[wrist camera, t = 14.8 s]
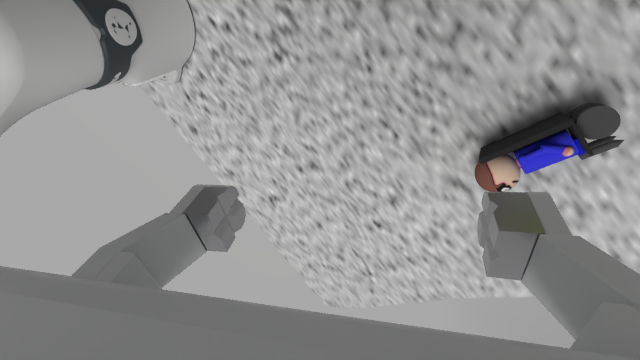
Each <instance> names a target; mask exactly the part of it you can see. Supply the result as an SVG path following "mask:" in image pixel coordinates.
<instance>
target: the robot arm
mask: <svg viewBox="0 0 640 360" xmlns="http://www.w3.org/2000/svg"><path fill="white" fill-rule="evenodd" d="M194 41H195V28H194V22H193V17H192V14H191V11H190V8H189V5H188V3H187V1H186V0H0V136H1V135H2V134H3V133H4V132H5V131H6V130H7V129H8V128H10V127H11V126H12V125H13V124H15V123H16V122H17V121H18V120H20V119H21V118H23V117H24V116H26V115H28V114H29V113H31V112H32V111H34V110H36V109H38V108H40V107H43V106H45V105H47V104H49V103H52V102H54V101H56V100H59V99H61V98H63V97H65V96H68V95H70V94H73V93H75V92H78V91H80V90H83V89H89V90H91V89H96V88H100V87H105V86H108V85H110V84H114V83H120V82H122V83H123V85H133V86H138V85H141V84H144V83H147V82H150V81H152V80H154V81H159V82H165V83H170V84H174V83H177V82H179V80H180V77H181V72H182V67H183V65H184V64H185V62H186V61H187V60H188V58H189V57H190V55H191V53H192V50H193V47H194ZM238 196H239V193H238V191H237V189H236V187H233V186H225V185H195V186H193V187H192V188H191V189H190V191H189V192H188V193H187V194H186V195H185V196H184V197H183V198H182V199H181V200H180V202H179V203H178V204H177V205H176V206H175V207H174V208H173V209H172V211H171V212H170V213H165V214H163V215H161V216H159V217H157V218H155V219H154V220H152V221H150V222H148V223H146V224H144V225H142V226H140V227H138V228H136V229H134V230H133V231H131V232H129V233H127V234H125V235H123V236H121V237H120V238H117V239H116V240H114V241H112V242H110V243H108V244H106V245H104V246H102V247H101V248H99V249H98V250H97V251H96V252H95V253H94V254H93V255H92V256H91V257H90V258H89V259H88V260H87V261H86V262H85V263H84V264H83V265H82V266H81V267H80V268H79V269H78V270H77V271H76V272H75V273H74V274H73V275H72V276H64V275H58V274H50V273H44V272H37V271H30V270H23V269H16V268H10V267H3V266H0V360H640V274H638V273H637V272H635V271H633V270H632V269H630V268H629V267H627V266H626V265H624V264H622V263H621V262H619V261H618V260H616V259H615V258H613V257H611V256H610V255H608V254H607V253H605V252H603V251H602V250H600V249H599V248H597V247H596V246H594V245H592V244H591V243H589V242H588V241H586V240H585V239H583V238H581V237H580V236H572V234H571V232H570V230H569V228H568V226H567V225H566V223H565V221H564V219H563V217H562V216H561V214H560V212H559V210H558V208H557V207H556V205H555V203H554V201H553V199H552V197H551V196H550V194H549V193H547V192H525V193H523V192H484V195H483V198H482V206H483V211H482V212H481V213H480V214H479V218H478V239H479V244H480V246H482V247H483V248H484V252H483V256H482V258H483V262H484V266H485V271H486V275H487V277H496V278H504V279H513V280H521V281H522V283H523V284H524V285H525V286H526V287H527V288H528V290H529V291H530V292H531V293H532V294H533V295H534V296H535V297H536V298H537V299H538V300H539V301H540V302H541V303H542V304H543V305H544V307H545V308H546V309H547V310H548V311H549V312H550V313H551V314H552V315H553V316H554V317H555V318H556V319H557V320H558V322H560V324H561V325H562V326H563V327H564V328H565V329H566V330H567V331H568V332H569V333H570V334H571V335H572V336H573V337H574V339H575V340H576V341H575V342H574V343H573V345H572V346H571V348H570V349H568V348H562V347H554V346H547V345H541V344H534V343H527V342H520V341H513V340H506V339H499V338H493V337H486V336H478V335H472V334H465V333H458V332H451V331H444V330H437V329H430V328H424V327H417V326H409V325H403V324H396V323H388V322H381V321H375V320H368V319H361V318H354V317H346V316H339V315H333V314H326V313H319V312H311V311H305V310H299V309H291V308H285V307H278V306H271V305H264V304H258V303H250V302H244V301H237V300H230V299H223V298H216V297H209V296H202V295H196V294H188V293H182V292H175V291H168V290H163V289H162V287H163V286H165V285H166V284H167V283H168V282H170V281H171V280H172V279H173V278H175V277H176V276H177V275H178V274H180V273H181V272H182V271H183V270H185V269H186V268H187V267H188V266H190V265H191V264H192V263H193V262H194V261H196V260H197V259H198V258H199V257H201V256H202V255H203V254H204V253H206V251H220V252H227V251H228V249H229V248H230V246H231V244H232V243H233V241H234V239H235V232H236V231H238V230H239V229H241V228H242V226H243V224H244V221H245V216H246V213H245V208H244V205H243V203H241V202H240V201H239V200H238Z"/></svg>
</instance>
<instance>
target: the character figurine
mask: <svg viewBox="0 0 640 360" xmlns="http://www.w3.org/2000/svg"><path fill="white" fill-rule="evenodd" d="M619 125H620V115H619V114H618V112H617V111H616V110H614V109H613V108H610V107H607V106H605V105H602V104H598V103H589V104H585V105H582V106H580V107H578V108H577V109H575V110H574V111H573V112H572V114H571V115H570V117H567V116H566V115H564V114H562V113H558V114H556V115H554V116H551V117H549V118H547V119H545V120H543V121H541V122H538V123H536V124H534V125H532V126H530V127H527V128H525V129H523V130H521V131H519V132H516V133H514V134H512V135H510V136H508V137H505V138H503V139H501V140H499V141H497V142H495V143H492V144H490V145H488V146H486V147H484V148H481V151H480V156H479V162H478V164H477V165H476V168H475V178H476V181H477V183H478V184H479V185H480V186H481V187H482V188H483V189H485V190H487V191H490V192H505V191H508V190H510V189H511V188H513V187H514V186H515V185H516V184H517V182H518V181H519V178H520V168H522V169H523V171H524V173H525V174H528V173H530V172H533V171H536V170H538V169H541V168H544V167H546V166H549V165H551V164H554V163H557V162H559V161H562V160H565V159H567V158H570V157H573V156H575V155H579V157H580V158H581V159H582V160H583V159H585V158H588V157H591V156H594V155H596V154H599V153H602V152H604V151H607V150H610V149H613V148H615V147H618V146H619V145H620V144H621V143H622V142H623V141H624V140H613V139H614V138H615V137H616V136H610V135H611V134H613V133H614V132H615V131H616V130H617V129H618V127H619ZM565 128H567V129H568V131H569V133H570V134H571V136H570V135H569V133H568V132H567V131H566V130H563V129H565ZM561 130H563V131H561ZM558 131H560V132H558ZM556 132H558V133H556ZM554 133H555V134H554ZM551 134H553V135H551ZM549 135H551V136H549ZM547 136H548V137H547ZM544 137H546V138H544ZM584 137H585V138H588V139H598V140H595V141H593V142H590V143H587V142H586V140H585V138H584ZM542 138H544V139H542ZM540 139H541V140H540ZM537 140H539V141H537ZM612 140H613V141H612ZM535 141H537V142H535ZM533 142H534V143H533ZM530 143H532V144H530ZM528 144H530V145H528ZM525 145H527V146H525ZM523 146H525V147H523ZM521 147H523V148H521ZM518 148H520V149H518ZM516 149H518V150H516ZM514 150H516V151H514ZM511 151H513V152H514V154H515V156H516V159H513V158H512V157H511V156H509V155H506V154H507V153H509V152H511Z"/></svg>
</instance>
